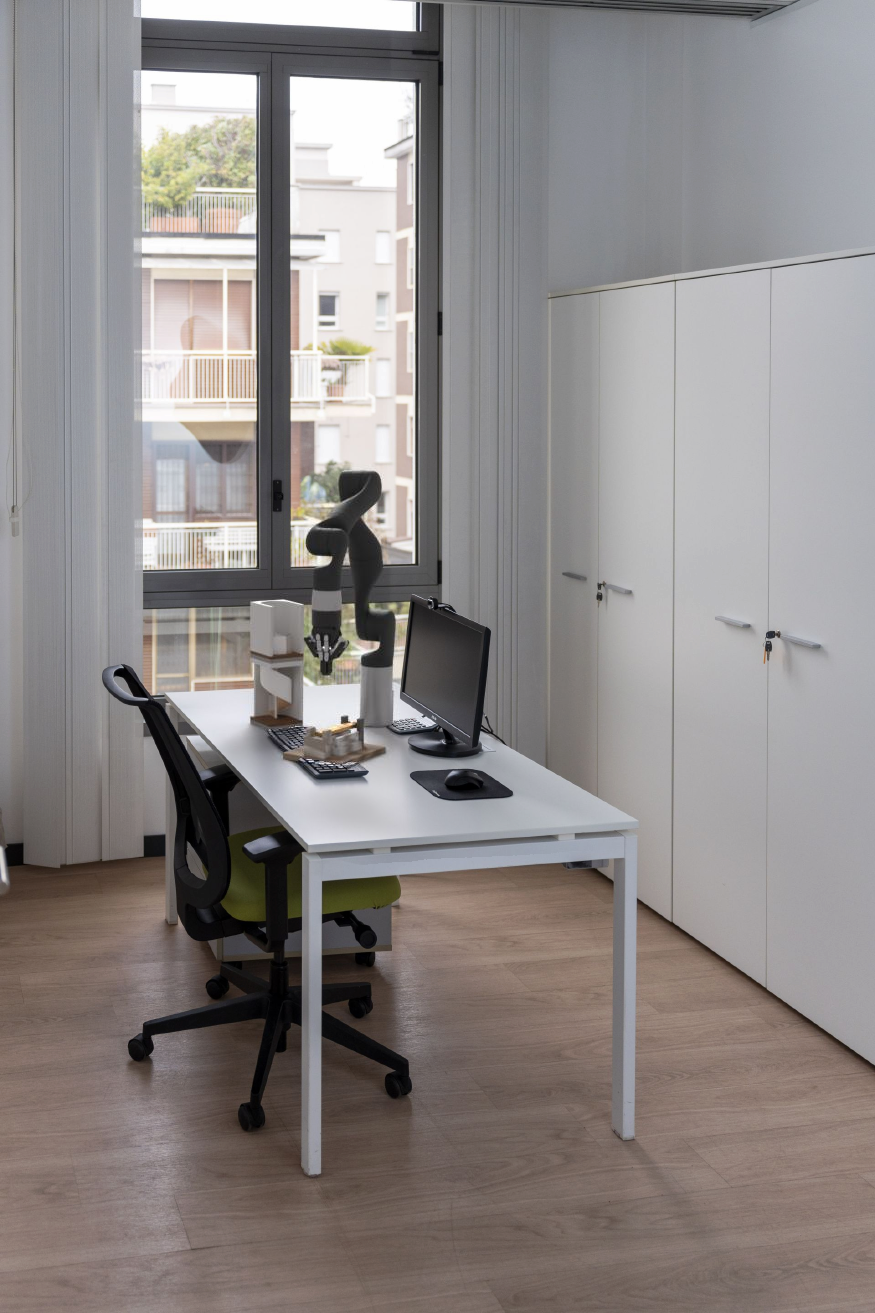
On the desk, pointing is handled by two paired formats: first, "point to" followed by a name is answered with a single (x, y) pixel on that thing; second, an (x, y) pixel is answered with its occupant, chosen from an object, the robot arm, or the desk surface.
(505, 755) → the desk surface
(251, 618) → the display case
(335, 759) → the wooden jig fixture
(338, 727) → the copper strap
